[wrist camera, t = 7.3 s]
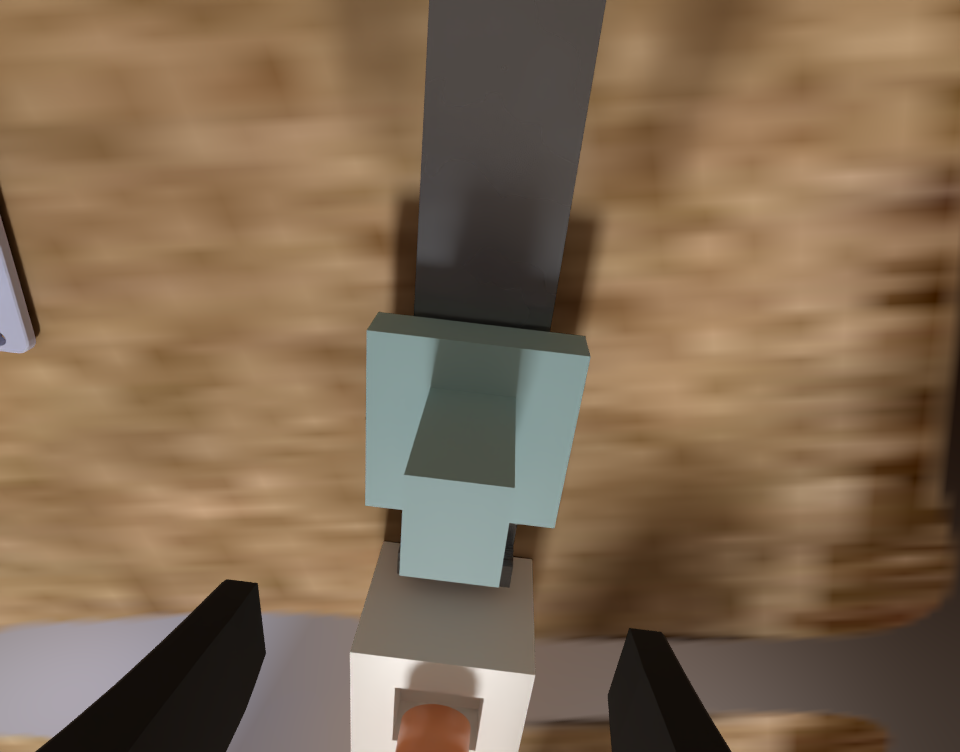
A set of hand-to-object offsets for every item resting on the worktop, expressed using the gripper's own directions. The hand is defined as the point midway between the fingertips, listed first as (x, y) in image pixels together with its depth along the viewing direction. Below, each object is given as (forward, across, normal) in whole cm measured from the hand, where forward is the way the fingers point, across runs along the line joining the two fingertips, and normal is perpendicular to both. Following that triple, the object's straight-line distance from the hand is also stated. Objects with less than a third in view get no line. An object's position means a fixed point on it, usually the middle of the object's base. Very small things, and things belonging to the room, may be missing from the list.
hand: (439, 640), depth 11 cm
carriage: (+8, 0, -1) cm, 8 cm away
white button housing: (+9, 0, +10) cm, 14 cm away
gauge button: (+4, 0, +10) cm, 11 cm away
